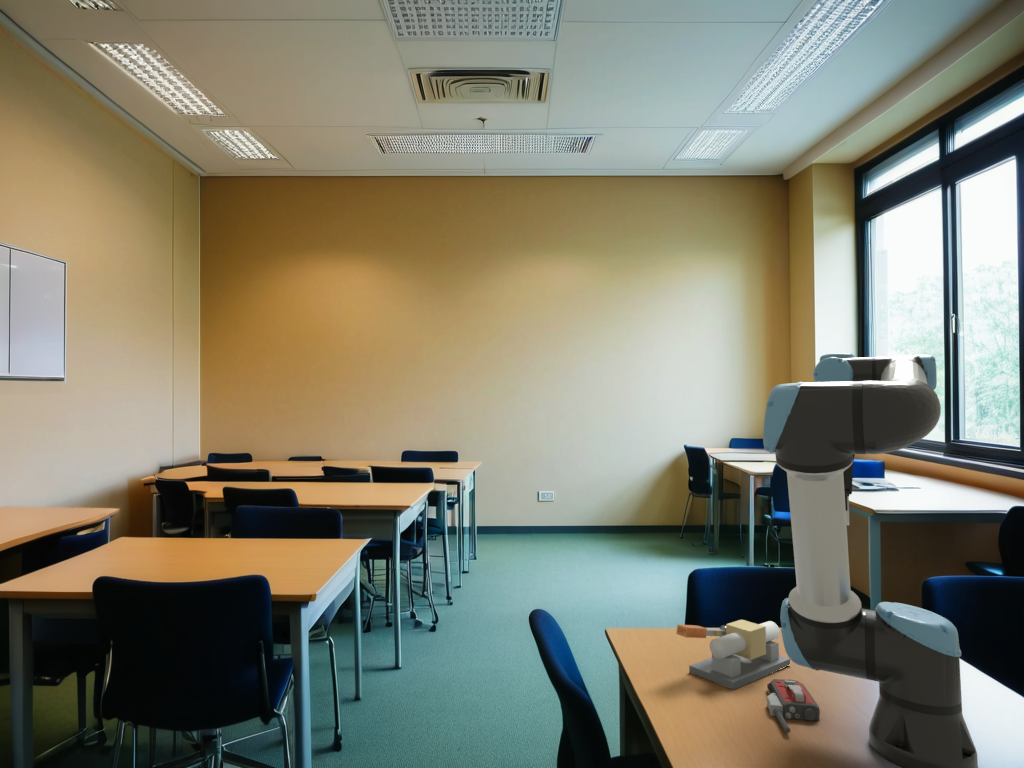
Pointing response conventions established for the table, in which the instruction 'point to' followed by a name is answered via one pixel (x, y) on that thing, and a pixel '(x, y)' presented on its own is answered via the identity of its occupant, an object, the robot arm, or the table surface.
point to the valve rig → (742, 654)
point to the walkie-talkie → (791, 702)
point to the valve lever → (699, 631)
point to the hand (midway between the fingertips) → (842, 524)
